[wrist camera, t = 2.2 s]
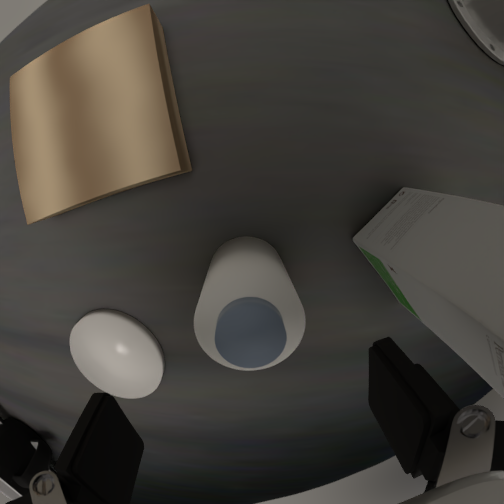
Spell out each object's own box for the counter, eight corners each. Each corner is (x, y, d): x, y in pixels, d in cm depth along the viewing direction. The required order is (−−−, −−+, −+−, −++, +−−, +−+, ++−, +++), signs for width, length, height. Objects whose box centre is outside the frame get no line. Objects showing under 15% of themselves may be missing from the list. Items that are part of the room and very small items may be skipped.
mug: (72, 479, 30) (53, 526, 19) (0, 433, 28) (-26, 473, 17) (70, 439, 27) (40, 502, 15) (-16, 380, 25) (-56, 426, 13)
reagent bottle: (275, 228, 21) (301, 270, 12) (288, 297, 22) (316, 371, 13) (201, 245, 21) (174, 298, 12) (220, 312, 22) (210, 392, 13)
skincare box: (348, 236, 21) (503, 346, 6) (405, 180, 20) (581, 213, 5) (400, 305, 23) (514, 422, 8) (449, 254, 22) (581, 329, 7)
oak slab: (162, 28, 16) (149, 3, 12) (192, 170, 19) (180, 170, 15) (37, 86, 16) (9, 77, 13) (56, 215, 20) (27, 224, 16)
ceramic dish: (142, 300, 22) (138, 307, 21) (179, 386, 24) (177, 395, 23) (60, 315, 22) (54, 321, 21) (100, 392, 24) (96, 399, 23)
